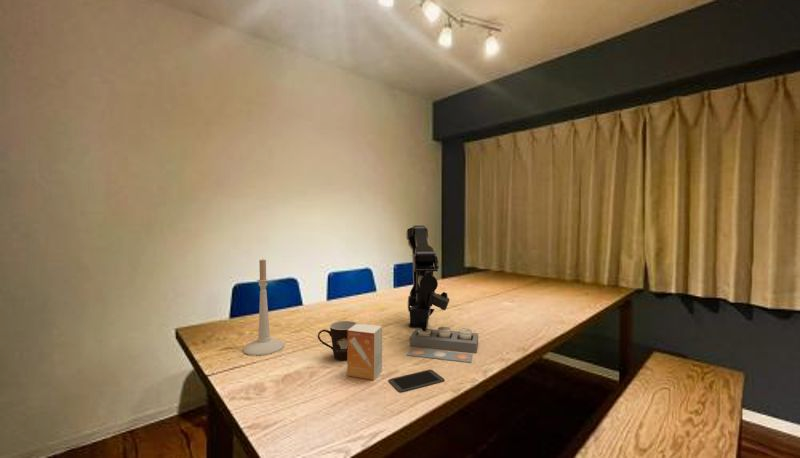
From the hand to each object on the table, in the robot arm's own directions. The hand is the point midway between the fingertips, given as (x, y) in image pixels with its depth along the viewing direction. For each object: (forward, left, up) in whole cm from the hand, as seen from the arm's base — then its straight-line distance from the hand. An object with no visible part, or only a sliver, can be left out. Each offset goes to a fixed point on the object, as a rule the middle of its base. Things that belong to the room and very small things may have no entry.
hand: (424, 330), depth 121 cm
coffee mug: (-23, -19, -4) cm, 30 cm away
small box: (-11, -28, -4) cm, 30 cm away
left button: (0, 0, -3) cm, 3 cm away
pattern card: (+7, -10, -4) cm, 13 cm away
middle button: (+7, 0, -2) cm, 7 cm away
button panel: (+7, 0, -4) cm, 8 cm away
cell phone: (+4, -28, -4) cm, 29 cm away
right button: (+14, 0, -2) cm, 14 cm away
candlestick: (-50, -20, -4) cm, 54 cm away
